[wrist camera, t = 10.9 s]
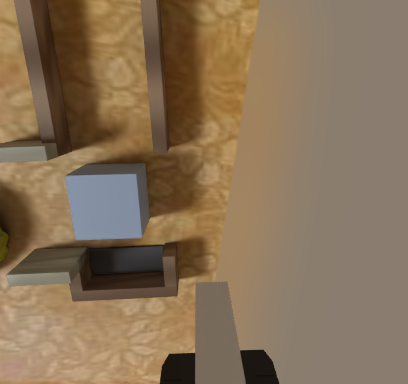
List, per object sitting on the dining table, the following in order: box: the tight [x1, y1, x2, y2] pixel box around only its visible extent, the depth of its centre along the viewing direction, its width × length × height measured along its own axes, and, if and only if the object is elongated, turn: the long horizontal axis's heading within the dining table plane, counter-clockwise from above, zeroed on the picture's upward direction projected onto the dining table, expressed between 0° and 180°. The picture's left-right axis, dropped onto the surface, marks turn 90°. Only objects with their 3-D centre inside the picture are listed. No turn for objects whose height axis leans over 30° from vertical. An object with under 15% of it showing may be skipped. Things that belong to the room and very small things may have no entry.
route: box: [0, 0, 179, 301], centre depth 26 cm, size 32×15×5 cm, turn 2°
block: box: [65, 163, 150, 240], centre depth 28 cm, size 6×6×5 cm
